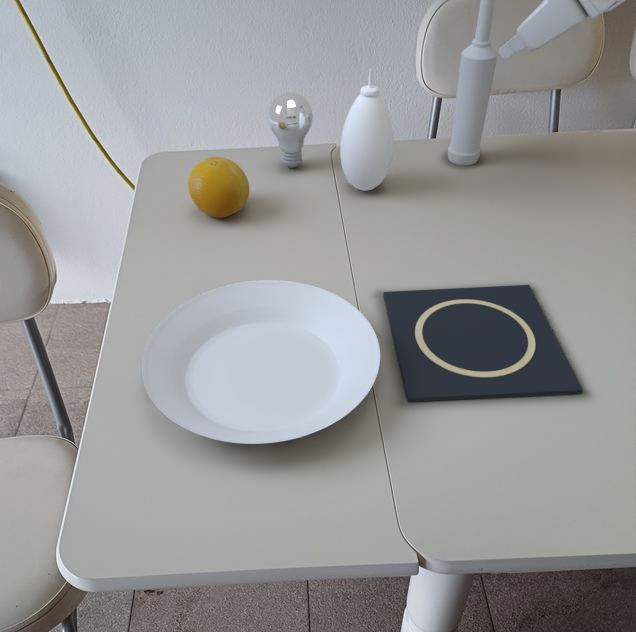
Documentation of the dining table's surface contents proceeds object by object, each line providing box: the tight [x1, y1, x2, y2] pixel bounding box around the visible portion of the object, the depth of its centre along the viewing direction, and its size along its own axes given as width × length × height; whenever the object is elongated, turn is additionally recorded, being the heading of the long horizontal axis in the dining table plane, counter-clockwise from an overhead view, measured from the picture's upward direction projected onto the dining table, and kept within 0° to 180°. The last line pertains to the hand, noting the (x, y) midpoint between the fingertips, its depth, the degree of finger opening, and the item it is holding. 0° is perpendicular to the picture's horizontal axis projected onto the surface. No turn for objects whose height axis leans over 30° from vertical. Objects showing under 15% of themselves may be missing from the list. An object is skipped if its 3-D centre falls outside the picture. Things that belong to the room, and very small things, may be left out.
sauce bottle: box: [339, 67, 395, 192], centre depth 94 cm, size 8×8×18 cm
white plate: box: [140, 279, 381, 445], centre depth 69 cm, size 25×25×4 cm
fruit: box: [187, 156, 250, 219], centre depth 94 cm, size 9×8×8 cm
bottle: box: [447, 0, 499, 167], centre depth 97 cm, size 5×5×25 cm
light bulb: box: [267, 91, 314, 169], centre depth 102 cm, size 7×7×12 cm
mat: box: [382, 284, 584, 403], centre depth 73 cm, size 18×18×1 cm
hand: (511, 43), depth 92 cm, fingers open, 8 cm apart
